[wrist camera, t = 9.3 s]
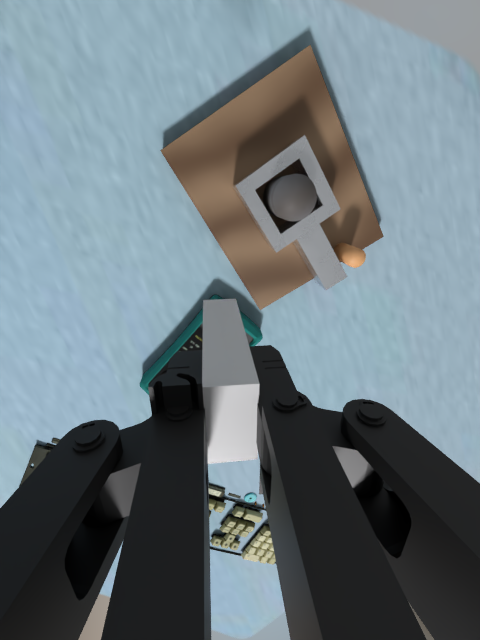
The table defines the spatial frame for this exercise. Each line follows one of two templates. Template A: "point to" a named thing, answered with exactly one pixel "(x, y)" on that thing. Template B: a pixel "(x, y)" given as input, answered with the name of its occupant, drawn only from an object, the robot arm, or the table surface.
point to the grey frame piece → (301, 232)
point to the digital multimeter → (194, 344)
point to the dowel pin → (349, 254)
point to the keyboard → (232, 526)
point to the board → (284, 188)
